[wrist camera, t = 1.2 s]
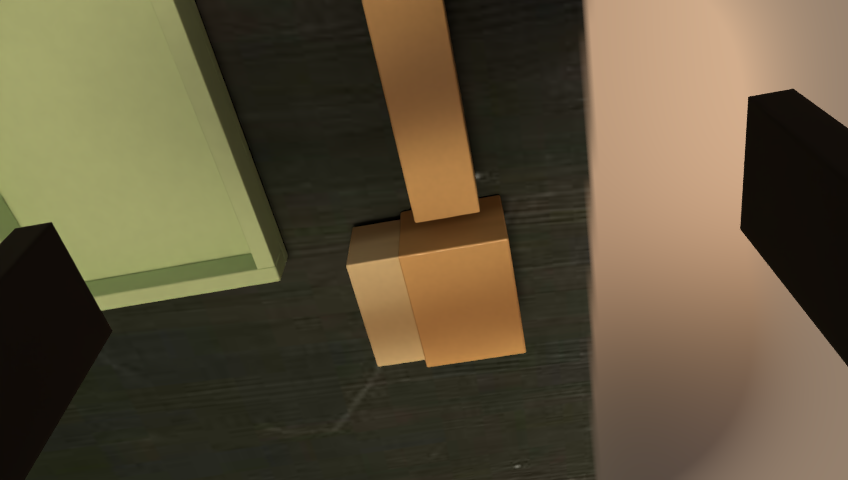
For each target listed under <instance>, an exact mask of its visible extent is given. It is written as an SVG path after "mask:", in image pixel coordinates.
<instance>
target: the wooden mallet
mask: <svg viewBox="0 0 848 480" xmlns="http://www.w3.org/2000/svg"><path fill="white" fill-rule="evenodd" d="M362 4H363V8H364V12H365V17H366V21H367V25H368V29H369V33H370V37H371V42H372V46H373V50H374V54H375V58H376V62H377V67H378V71H379V75H380V79H381V83H382V87H383V92H384V96H385V100H386V104H387V108H388V112H389V117H390V121H391V125H392V129H393V133H394V137H395V142H396V146H397V150H398V154H399V158H400V162H401V167H402V171H403V175H404V179H405V183H406V187H407V192H408V196H409V200H410V204H411V208H412V210H410V211H404V212H401V216H400V220H394V221H388V222H382V223H377V224H371V225H365V226H359V227H354V228H352V234H351V240H350V246H349V252H348V258H347V264H346V267H347V271H348V274H349V277H350V280H351V283H352V286H353V290H354V293H355V296H356V299H357V302H358V305H359V309H360V312H361V315H362V318H363V321H364V325H365V328H366V331H367V334H368V337H369V340H370V344H371V347H372V350H373V353H374V356H375V359H376V363H377V366H378V367H380V366H386V365H393V364H400V363H406V362H413V361H420V360H425V361H426V365H427V367H433V366H440V365H447V364H453V363H460V362H467V361H474V360H480V359H487V358H494V357H501V356H507V355H514V354H521V353H525V352H526V347H525V340H524V334H523V328H522V321H521V315H520V308H519V302H518V296H517V289H516V283H515V277H514V270H513V264H512V258H511V251H510V245H509V239H508V233H507V228H506V223H505V218H504V213H503V208H502V203H501V198H500V196H499V195H496V196H490V197H485V198H478V191H477V184H476V177H475V171H474V166H473V160H472V154H471V149H470V143H469V137H468V132H467V126H466V120H465V115H464V109H463V104H462V98H461V92H460V87H459V81H458V75H457V70H456V64H455V59H454V53H453V47H452V42H451V36H450V30H449V25H448V19H447V13H446V8H445V2H444V0H362Z"/></svg>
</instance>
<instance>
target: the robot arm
mask: <svg viewBox="0 0 848 480" xmlns="http://www.w3.org/2000/svg"><path fill="white" fill-rule="evenodd" d="M747 113H748V114H747V128H746V144H745V145H746V146H745V161H744V178H743V193H742V211H741V226H740V229H741V231H742V232H743V233H744V234H745V236H746V237H747V238H748V239H749V241H750V242H751V243H752V245H753V246H754V247H755V248H756V249H757V251H758V252H759V253H760V255H761V256H762V257H763V259H764V260H765V261H766V262H767V264H768V265H769V266H770V267H771V269H772V270H773V271H774V273H775V274H776V275H777V277H778V278H779V279H780V280H781V282H782V283H783V284H784V285H785V287H786V288H787V289H788V290H789V292H790V293H791V294H792V296H793V297H794V298H795V300H796V301H797V302H798V303H799V305H800V306H801V307H802V308H803V310H804V311H805V312H806V314H807V315H808V316H809V317H810V319H811V320H812V321H813V322H814V324H815V325H816V326H817V328H818V329H819V330H820V331H821V333H822V334H823V335H824V337H825V338H826V339H827V340H828V342H829V343H830V344H831V345H832V347H833V348H834V349H835V350H836V352H837V353H838V354H839V356H840V357H841V358H842V359H843V361H844V362H845V363H846V365H847V366H848V128H847V127H845V126H844V125H843V124H841V123H840V122H838V121H837V120H836V119H834V118H833V117H832V116H830V115H829V114H827V113H826V112H825V111H823V110H822V109H820V108H819V107H818V106H816V105H815V104H814V103H812V102H811V101H809V100H808V99H806V98H805V97H804V96H803V95H801V94H799V93H798V92H797V91H796V90H794V89H790V90H784V91H778V92H773V93H767V94H761V95H756V96H750V97H748V111H747ZM111 332H112V330H111V328H110V326H109V324H108V322H107V321H106V319H105V317H104V315H103V313H102V312H101V310H100V308H99V306H98V304H97V303H96V301H95V299H94V297H93V295H92V294H91V292H90V290H89V288H88V286H87V285H86V283H85V281H84V279H83V277H82V276H81V274H80V272H79V270H78V268H77V267H76V265H75V263H74V261H73V259H72V258H71V256H70V254H69V252H68V250H67V249H66V247H65V245H64V243H63V241H62V239H61V238H60V236H59V234H58V232H57V230H56V229H55V227H54V225H53V223H52V222H48V223H43V224H37V225H31V226H26V227H20V228H15V229H14V230H13V231H12V232H11V233H10V234H9V235H8V236H7V237H6V238H5V239H4V240H3V241H2V242H1V243H0V480H25V478H26V476H27V475H28V473H29V471H30V470H31V468H32V466H33V465H34V463H35V461H36V459H37V458H38V456H39V454H40V453H41V451H42V449H43V448H44V446H45V444H46V442H47V441H48V439H49V437H50V436H51V434H52V432H53V431H54V429H55V427H56V426H57V424H58V422H59V420H60V419H61V417H62V415H63V414H64V412H65V410H66V409H67V407H68V405H69V404H70V402H71V400H72V398H73V397H74V395H75V393H76V392H77V390H78V388H79V387H80V385H81V383H82V381H83V380H84V378H85V376H86V375H87V373H88V371H89V370H90V368H91V366H92V365H93V363H94V361H95V359H96V358H97V356H98V354H99V353H100V351H101V349H102V348H103V346H104V344H105V343H106V341H107V339H108V337H109V336H110V334H111Z"/></svg>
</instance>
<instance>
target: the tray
mask: <svg viewBox="0 0 848 480" xmlns="http://www.w3.org/2000/svg"><path fill="white" fill-rule="evenodd" d="M48 222H52V223H53V225H54V227H55V229H56V230H57V232H58V234H59V236H60V238H61V239H62V241H63V243H64V245H65V247H66V249H67V250H68V252H69V254H70V256H71V258H72V259H73V261H74V263H75V265H76V267H77V268H78V270H79V272H80V274H81V276H82V277H83V279H84V281H85V283H86V285H87V286H88V288H89V290H90V292H91V294H92V295H93V297H94V299H95V301H96V303H97V304H98V306H99V308H100V310H101V311H102V310H108V309H114V308H120V307H126V306H132V305H138V304H144V303H150V302H156V301H162V300H168V299H174V298H180V297H186V296H192V295H198V294H204V293H210V292H216V291H222V290H228V289H234V288H240V287H246V286H252V285H258V284H264V283H270V282H276V281H280V280H281V277H282V273H283V270H284V267H285V263H286V261H287V258H288V254H287V252H286V249H285V246H284V243H283V241H282V238H281V235H280V232H279V230H278V227H277V224H276V222H275V219H274V216H273V213H272V211H271V208H270V205H269V202H268V200H267V197H266V194H265V192H264V189H263V186H262V183H261V181H260V178H259V175H258V172H257V170H256V167H255V164H254V162H253V159H252V156H251V153H250V151H249V148H248V145H247V142H246V140H245V137H244V134H243V131H242V129H241V126H240V123H239V121H238V118H237V115H236V112H235V110H234V107H233V104H232V101H231V99H230V96H229V93H228V91H227V88H226V85H225V82H224V80H223V77H222V74H221V71H220V69H219V66H218V63H217V61H216V58H215V55H214V52H213V50H212V47H211V44H210V41H209V39H208V36H207V33H206V30H205V28H204V25H203V22H202V20H201V17H200V14H199V11H198V9H197V6H196V3H195V0H0V243H1V242H2V241H3V240H4V239H5V238H6V237H7V236H8V235H9V234H10V233H11V232H12V231H13V230H14V229H15V228H20V227H26V226H31V225H37V224H43V223H48Z"/></svg>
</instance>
